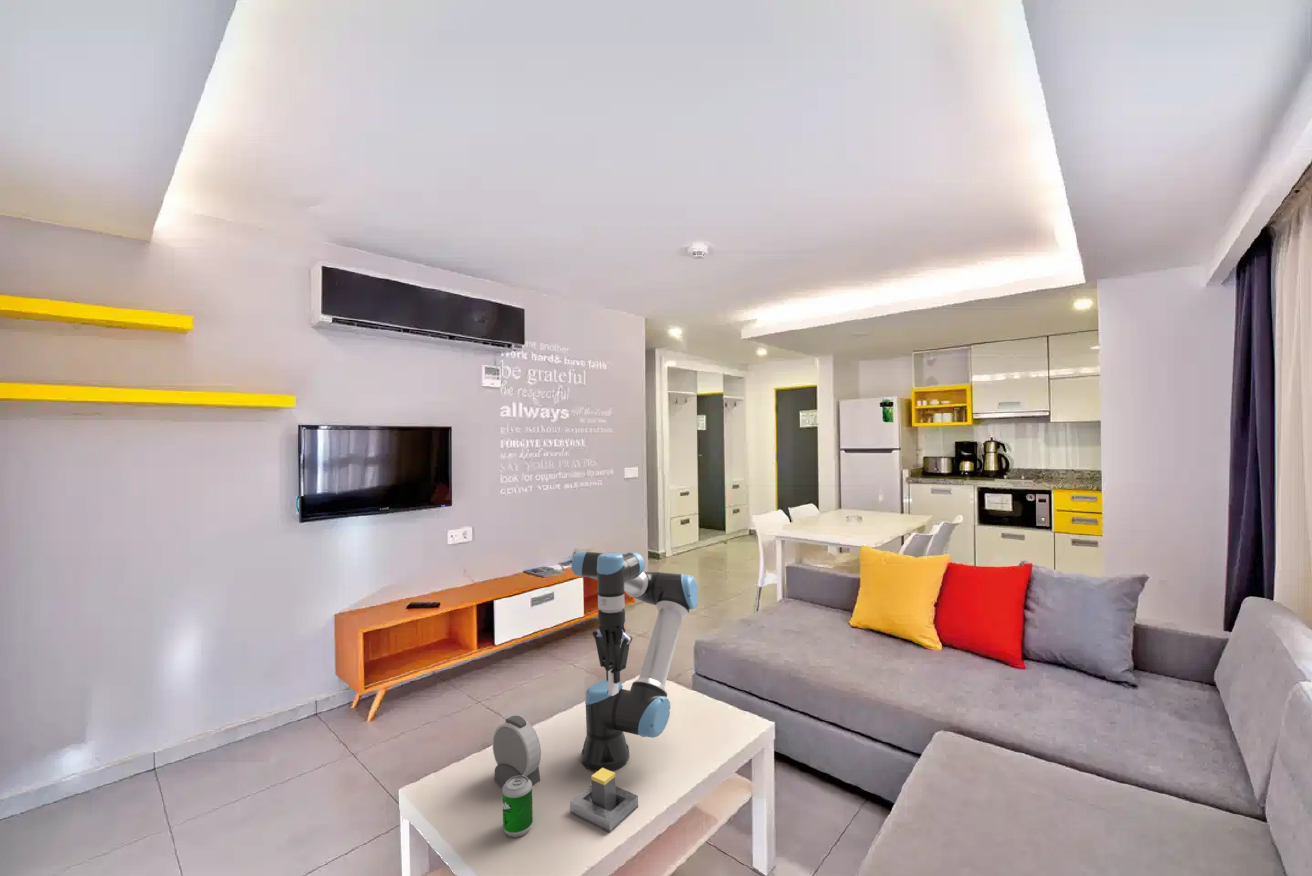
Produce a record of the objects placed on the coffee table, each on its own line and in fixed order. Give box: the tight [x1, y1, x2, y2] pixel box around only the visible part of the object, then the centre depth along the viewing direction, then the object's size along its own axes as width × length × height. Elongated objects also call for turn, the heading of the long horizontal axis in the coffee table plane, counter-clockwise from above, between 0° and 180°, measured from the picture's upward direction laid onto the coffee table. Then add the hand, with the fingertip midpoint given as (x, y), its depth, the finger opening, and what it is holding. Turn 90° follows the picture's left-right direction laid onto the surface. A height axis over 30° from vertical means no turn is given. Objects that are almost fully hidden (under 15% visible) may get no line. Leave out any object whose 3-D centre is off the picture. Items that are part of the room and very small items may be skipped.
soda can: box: [501, 775, 534, 838], centre depth 140 cm, size 8×8×12 cm
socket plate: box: [569, 784, 639, 833], centre depth 147 cm, size 14×12×4 cm
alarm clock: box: [492, 715, 542, 789], centre depth 162 cm, size 16×10×18 cm, turn 56°
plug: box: [590, 768, 616, 812], centre depth 147 cm, size 5×5×9 cm
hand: (613, 693), depth 152 cm, fingers closed
